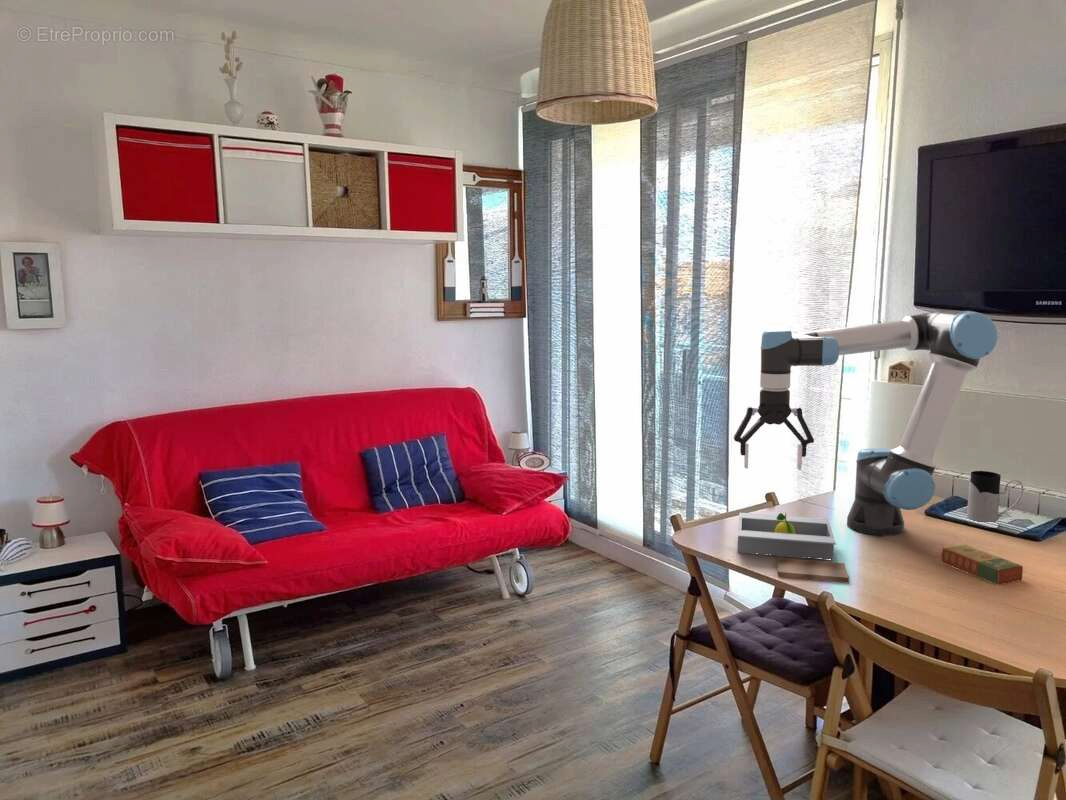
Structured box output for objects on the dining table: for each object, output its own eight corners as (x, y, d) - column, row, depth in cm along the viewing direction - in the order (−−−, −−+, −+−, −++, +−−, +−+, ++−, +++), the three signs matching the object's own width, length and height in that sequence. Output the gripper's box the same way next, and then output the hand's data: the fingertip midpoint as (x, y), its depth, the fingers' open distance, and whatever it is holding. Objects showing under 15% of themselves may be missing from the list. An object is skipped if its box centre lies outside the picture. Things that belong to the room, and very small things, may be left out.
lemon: (775, 543, 217) (777, 507, 215) (797, 546, 214) (799, 510, 212) (769, 550, 211) (770, 514, 209) (792, 554, 208) (793, 517, 206)
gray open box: (827, 539, 219) (828, 518, 218) (834, 566, 199) (835, 543, 198) (738, 533, 225) (739, 512, 224) (737, 557, 206) (737, 535, 205)
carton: (964, 559, 204) (966, 543, 204) (1022, 581, 190) (1024, 564, 189) (940, 563, 201) (941, 547, 201) (997, 586, 187) (999, 569, 186)
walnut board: (844, 567, 198) (844, 563, 198) (848, 582, 189) (848, 577, 188) (776, 562, 202) (777, 557, 202) (778, 576, 193) (778, 571, 193)
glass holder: (961, 518, 237) (965, 469, 235) (1014, 522, 233) (1019, 472, 231) (968, 527, 229) (972, 476, 226) (1024, 531, 225) (1029, 479, 223)
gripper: (822, 387, 210) (819, 465, 213) (725, 386, 214) (723, 463, 218) (827, 391, 203) (824, 472, 206) (726, 390, 207) (725, 470, 210)
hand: (772, 468), depth 212 cm, fingers open, 13 cm apart
